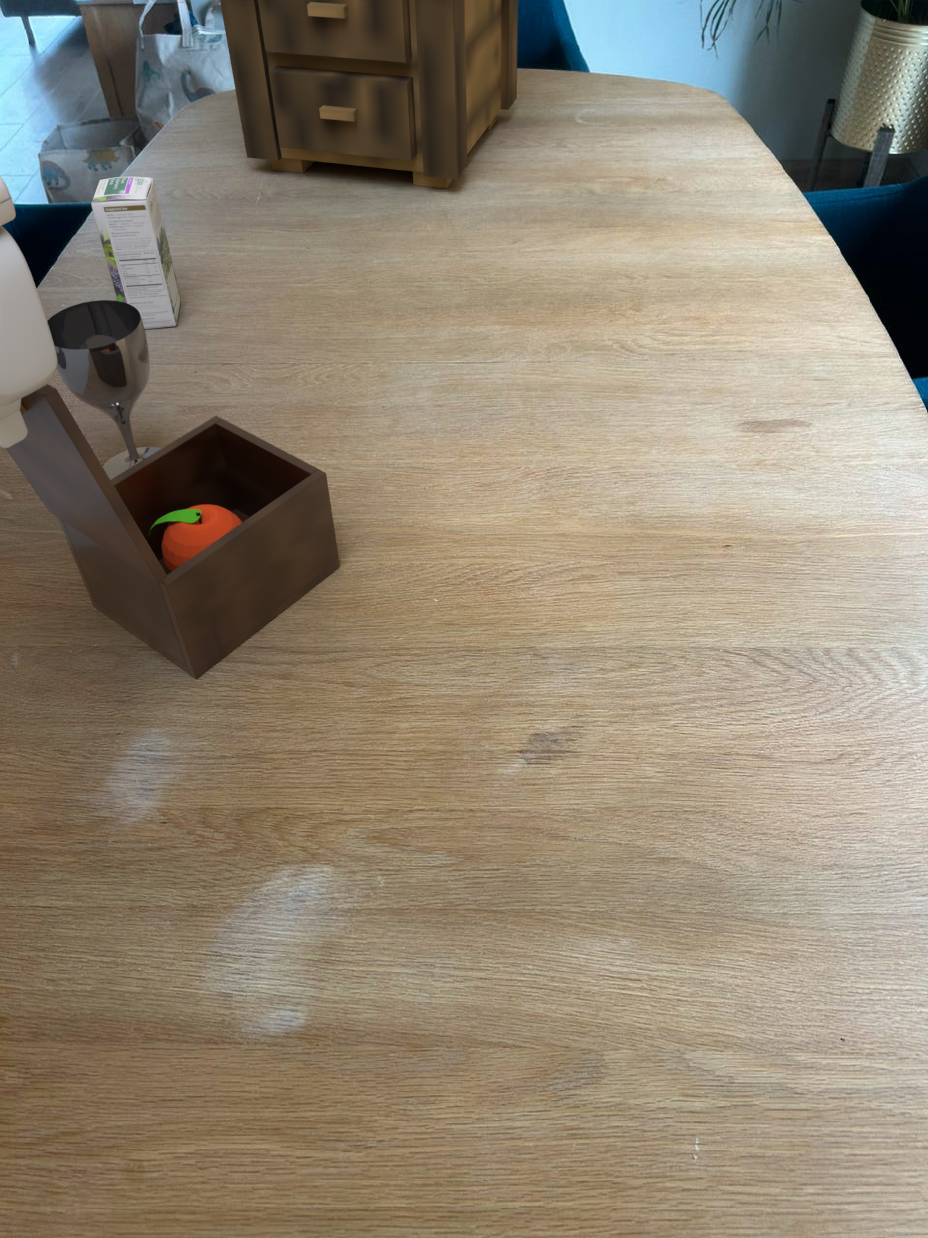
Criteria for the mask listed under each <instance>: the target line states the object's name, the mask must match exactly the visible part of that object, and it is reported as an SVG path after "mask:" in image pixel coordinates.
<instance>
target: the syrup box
mask: <svg viewBox="0 0 928 1238" xmlns="http://www.w3.org/2000/svg"><path fill="white" fill-rule="evenodd" d="M90 204H91V210H92V212H93V216H94V220H95V223H96V227H97V231H98V234H99V238H100V242H101V245H102V249H103V253H104V256H105V261H106V264H107V268H108V271H109V275H110V279H111V283H112V285H113V290H114V293H115V296H116V301H120V302H124V303H127V304H130V305H132V306H134V307H135V308H136V309H137V310H138V311H139V313H140V315H141V318H142V322H143V325H144V329H145V330H149V329H150V330H151V329H159V328H160V329H161V328H170V327H172V328H173V327H176V326H178V320H179V314H180V309H181V305H182V299H181V296H180V295H181V294H180V290H179V285H178V280H177V276H176V271H175V268H174V263H173V258H172V254H171V251H170V246H169V242H168V236H167V232H166V228H165V224H164V220H163V215H162V211H161V206H160V202H159V198H158V194H157V189H156V185H155V179H154V178H153V177H148V176H147V177H146V176H118V177H109V178H103V179H99V181H98V184H97V186H96V190H95V193H94V195H93V198H92V200H91V202H90Z"/></svg>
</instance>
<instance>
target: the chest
mask: <svg viewBox="0 0 928 1238" xmlns="http://www.w3.org/2000/svg"><path fill="white" fill-rule="evenodd" d="M111 482H112V484H113V485H114V487H115V489H116V490H117V492H118V494H119V495H120V497H121V499H122V500H123V502H124V504H125V506H126V507H127V509H128V511H129V512H130V514H131V516H132V517H133V519H134V521H135V522H136V524H137V526H138V527H139V529H140V531H141V533H142V534H143V536H144V538H145V539H146V541H147V543H148V544H149V546H150V548H151V549H152V551H153V553H154V554H155V556H156V558H157V560H158V561H159V563H160V565H161V566H162V568H163V570H164V571H165V573H166V575H167V578H166V579H165V580H164V581H163V582H162V583H160V584H158V583H157V582H155V581H154V580H152V579H151V578H149V577H148V576H146V575H145V574H143V573H142V572H140V571H139V570H137V569H135V568H134V567H132V566H131V565H129V564H128V563H126V562H125V561H123V560H122V559H120V558H119V557H117V556H116V555H114V554H113V553H111V552H110V551H108V550H107V549H105V548H104V547H102V546H101V545H99V544H98V543H96V542H95V541H93V540H92V539H90V538H89V537H87V536H86V535H84V534H82V533H81V532H79V531H78V530H76V529H75V528H73V527H72V526H70V525H69V524H67V523H66V522H64V521H63V520H61V519H60V518H58V517H57V516H56V518H57V520H58V522H59V525H60V528H61V530H62V532H63V535H64V537H65V539H66V542H67V545H68V547H69V549H70V552H71V554H72V557H73V560H74V562H75V564H76V566H77V569H78V572H79V574H80V577H81V580H82V582H83V584H84V586H85V588H86V592H87V593H88V596H89V599H90V601H91V603H92V605H93V607H94V608H95V609H97V611H99V612H100V613H102V614H104V615H105V616H106V617H108V618H109V619H111V620H112V621H113V622H114V623H116V624H118V625H119V626H121V627H122V628H124V629H125V630H126V631H127V632H129V633H130V634H132V635H133V636H134V637H136V638H137V639H139V640H140V641H141V642H143V643H144V644H146V645H147V646H148V647H150V648H151V649H153V650H154V651H156V652H157V653H159V654H160V655H161V656H163V658H166V659H167V660H168V661H170V662H171V663H173V664H174V665H176V666H177V667H178V668H180V669H181V670H183V671H184V672H185V673H187V674H188V675H190V676H191V677H192V678H194V679H195V680H197V679H199V678H200V677H201V676H202V675H204V674H205V673H206V672H208V671H209V670H210V669H211V668H213V667H214V666H216V664H218V663H219V662H221V661H222V660H223V659H224V658H225V657H227V656H228V655H230V653H232V652H233V651H234V650H236V649H237V648H239V646H241V645H243V644H244V643H245V642H246V641H247V640H248V639H250V638H251V637H252V636H254V635H255V634H256V633H258V632H259V631H260V630H261V629H263V628H264V627H266V625H268V624H269V623H270V622H272V620H274V619H275V618H276V617H278V616H279V615H281V614H282V613H283V612H285V610H287V609H288V608H289V607H290V606H292V605H293V604H295V603H296V602H297V601H298V600H300V599H301V598H302V597H303V596H305V595H306V594H307V593H308V592H310V591H312V589H314V588H315V587H316V586H318V585H319V584H320V583H322V581H324V580H325V579H327V578H328V577H329V576H330V575H331V574H333V573H334V572H335V571H337V570H338V569H339V568H340V567H341V563H340V557H339V556H340V555H339V550H338V543H337V537H336V530H335V525H334V523H335V522H334V517H333V510H332V504H331V495H330V489H329V482H328V477H327V472H325V471H323V470H321V469H320V468H317V467H316V466H313V465H312V464H310V463H308V462H306V461H304V460H303V459H300V458H298V457H297V456H294V455H293V454H290V453H289V452H288V451H285V450H283V449H282V448H280V447H277V446H275V445H273V444H271V443H270V442H268V441H265V440H264V439H262V438H260V437H258V436H256V435H254V434H252V433H250V432H249V431H247V430H245V429H243V428H241V427H239V426H237V425H236V424H234V423H232V422H230V421H228V420H226V419H224V418H221V417H220V416H217V415H214V416H213V417H211V418H210V419H208V420H207V421H205V422H202V423H201V424H199V425H198V426H196V427H194V428H193V429H192V430H190V431H189V432H186V433H185V434H183V435H182V436H179V438H177V439H175V440H174V441H171V442H170V443H169V444H167V445H164V446H163V447H161V448H160V450H159V451H157V452H155V453H154V454H152V455H150V456H149V457H147V458H146V459H144V460H142V461H141V462H139V463H137V464H136V465H134V466H132V467H131V468H129V469H127V470H126V471H124V472H123V473H121V474H119V475H118V476H116V477H114V478H113V479H111ZM206 504H210V505H217V506H220V507H223V508H225V509H227V510H229V511H231V512H232V513H234V514H235V515H237V517H238V518H239V519H240V520H241V521H242V523H241V524H240V525H238V526H237V527H235V528H234V529H232V530H231V531H230V532H228V533H227V534H225V535H224V536H222V537H221V538H219V539H218V540H217V541H215V542H214V543H212V544H211V545H209V546H208V547H207V548H205V549H204V550H202V551H201V552H199V553H198V554H196V555H195V556H194V557H192V558H191V559H189V560H188V561H186V562H185V563H184V564H182V565H181V566H179V567H178V568H176V569H175V570H173V571H172V572H171V573H170V572H169V571H168V569H167V567H166V565H165V563H164V560H163V554H162V546H161V545H162V541H163V536H164V532H165V529H166V528H167V526H168V525H169V523H170V522H163V523H160V524H157V525H155V526H154V527H153V528H152V529H151V527H152V525H153V524H154V523H155V522H156V521H157V520H158V519H159V518H161V517H162V516H164V515H166V514H168V513H171V512H174V511H177V510H183V509H187V508H190V507H193V506H197V505H206ZM150 529H151V532H150ZM149 533H150V535H149Z"/></svg>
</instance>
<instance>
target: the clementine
mask: <svg viewBox="0 0 928 1238" xmlns="http://www.w3.org/2000/svg"><path fill="white" fill-rule="evenodd" d="M163 522H170V523H169V525H168V526H167V528H166V529H165V532H164V536H163V541H162V545H161V546H162V554H163V560H164V563H165V565H166V567H167V569H168V571H169V572H170V573H171V572H172V571H173V570H175V569H176V568H178V567H179V566H181V565H182V564H184V563H185V562H186V561H188V560H189V559H191V558H192V557H194V556H195V555H196V554H198V553H199V552H201V551H202V550H204V549H205V548H207V547H208V546H209V545H211V544H212V543H214V542H215V541H217V540H218V539H219V538H221V537H222V536H224V535H225V534H227V533H228V532H230V531H231V530H232V529H234V528H235V527H237V526H238V525H240V524H241V523H242V521H241V520H240V519H239V518H238V517H237V515H235V514H234V513H232V512H231V511H229V510H227V509H225V508H223V507H220V506H217V505H210V504H206V505H197V506H193V507H190V508H187V509H183V510H177V511H174V512H171V513H168V514H166V515H164V516H162V517H161V518H159V519H158V520H157V521H156V522H155V523H154V524H153V525H152V527H151V529H152V528H153V527H154V526H155V525H157V524H160V523H163ZM151 529H150V532H151ZM149 535H150V533H149Z"/></svg>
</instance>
